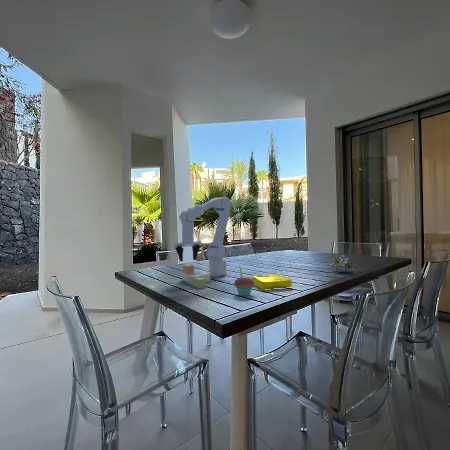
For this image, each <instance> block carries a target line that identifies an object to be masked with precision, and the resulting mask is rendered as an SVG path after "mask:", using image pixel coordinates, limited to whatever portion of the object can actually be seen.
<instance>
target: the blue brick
mask: <svg viewBox="0 0 450 450" xmlns="http://www.w3.org/2000/svg"><path fill="white" fill-rule="evenodd" d="M195 277H201V278H203V274H194V275H192V276H188V282H187V283H188V285H190V286H192V278H195Z"/></svg>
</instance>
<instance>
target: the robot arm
mask: <svg viewBox="0 0 450 450" xmlns="http://www.w3.org/2000/svg"><path fill="white" fill-rule="evenodd" d="M231 206H232V202H231V199H230V198H229V197H227V196H223V197H214V198H210V199H209V200H208V201H206V202H204V203H203V204H198V203H197V204H196V203H195V204H194V206H193V207H188V209H187V210H182V211H181V212H180V215H179V220H180V222H181V234H182V235H181V242H174V243H173V247H174V248H175V249H174V250H175V251H176V253H177V255H178V259H179V262H183V261H184V260H183V259H184V258H183V257H184V256H183V255H184V254H183V253H184V247H191V250H192V260H193V261H197V257H198V253H199V251H200V249H201V246H202V241H194V222H195V221H196V218H198V217H201V216H202V215H203V214H204V213H205V212H206V211H207V210H209V209H212V208H213V209H214V211H215V212H216V213H217V214H218V215H219V217H218V220H217V224H216V228H215V233H214V236H213V240H212V242H210V243H209V245H208V247H207V248H206V251H205V255H206V257H207V260H208V272H210V277H213V278H215V277H216V278H217V277H222V276H228V274H227V272H228V271H227V261H226V260H225V259H224V257H225V255H226V251H225V249H226V247H225V245H224V244H223V243H224V238H225V236H226V235H225V234H226V230H227V227H228V222H229V218H230V212H231V211H230V210H231Z"/></svg>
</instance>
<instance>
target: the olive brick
mask: <svg viewBox="0 0 450 450" xmlns="http://www.w3.org/2000/svg"><path fill="white" fill-rule="evenodd" d="M191 287H194V288H196V289H203V288H206V287H207V282H206V279H205V278H203V277H202V278H201V277H195V278H192V285H191Z"/></svg>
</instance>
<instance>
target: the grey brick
mask: <svg viewBox="0 0 450 450" xmlns="http://www.w3.org/2000/svg"><path fill="white" fill-rule="evenodd" d="M181 274H182V275H181V276H182V278H181V279H182V281H183V282H186V283H188V276H192V275H195V273H194V274H185V273H183V272H182V273H181Z"/></svg>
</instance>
